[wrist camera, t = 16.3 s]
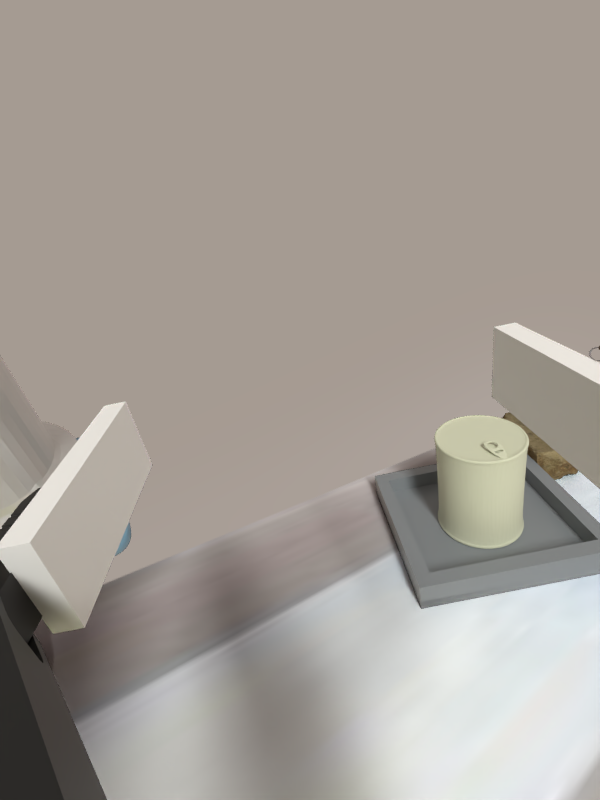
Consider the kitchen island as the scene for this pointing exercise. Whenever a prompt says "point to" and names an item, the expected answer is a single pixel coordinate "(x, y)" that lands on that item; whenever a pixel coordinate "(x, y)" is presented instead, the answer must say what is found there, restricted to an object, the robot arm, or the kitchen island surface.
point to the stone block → (544, 453)
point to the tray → (488, 568)
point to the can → (481, 480)
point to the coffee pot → (590, 353)
